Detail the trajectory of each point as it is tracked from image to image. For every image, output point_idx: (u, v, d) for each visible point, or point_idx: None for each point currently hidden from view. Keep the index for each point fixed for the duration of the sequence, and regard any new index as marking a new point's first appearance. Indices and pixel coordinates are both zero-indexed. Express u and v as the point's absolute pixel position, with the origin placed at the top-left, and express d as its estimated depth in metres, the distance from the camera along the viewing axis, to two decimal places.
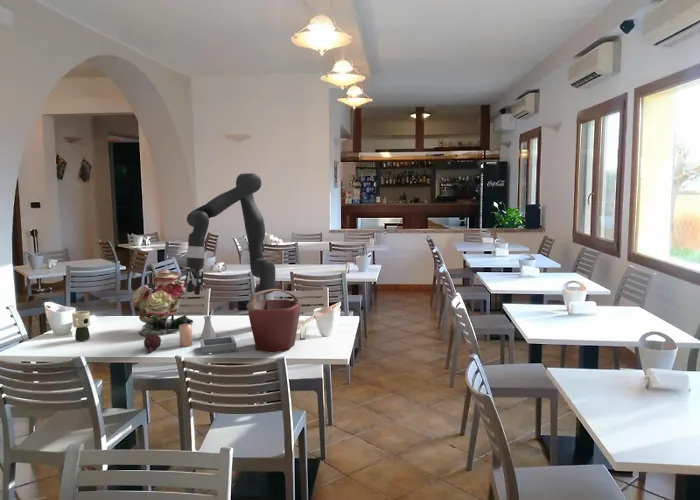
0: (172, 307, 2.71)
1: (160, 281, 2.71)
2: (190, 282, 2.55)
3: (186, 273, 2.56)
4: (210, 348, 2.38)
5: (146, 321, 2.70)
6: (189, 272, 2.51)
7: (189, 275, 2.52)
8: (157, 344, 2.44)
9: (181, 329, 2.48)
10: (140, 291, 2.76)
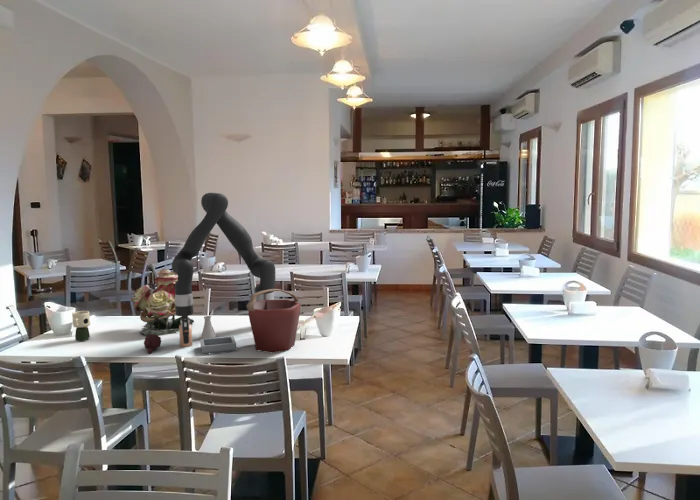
0: (173, 307, 2.71)
1: (161, 281, 2.72)
2: None
3: None
4: (210, 348, 2.38)
5: (147, 321, 2.70)
6: (180, 319, 2.50)
7: None
8: (157, 344, 2.44)
9: None
10: (141, 291, 2.76)
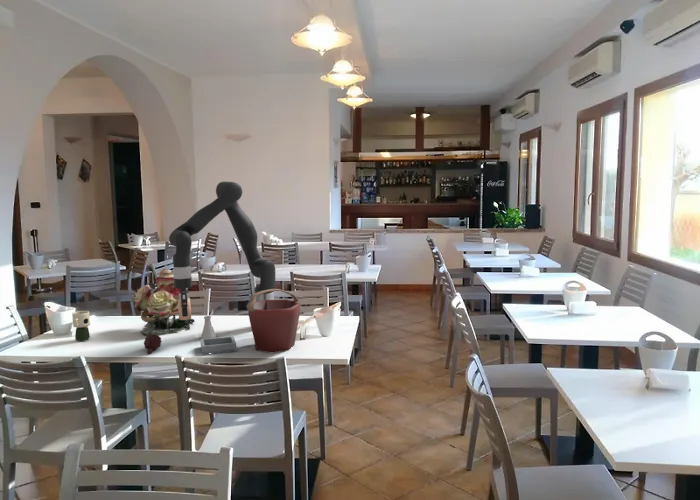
0: (174, 307, 2.72)
1: (162, 281, 2.72)
2: None
3: None
4: (210, 348, 2.38)
5: (148, 321, 2.71)
6: None
7: None
8: (157, 344, 2.43)
9: None
10: (142, 291, 2.77)
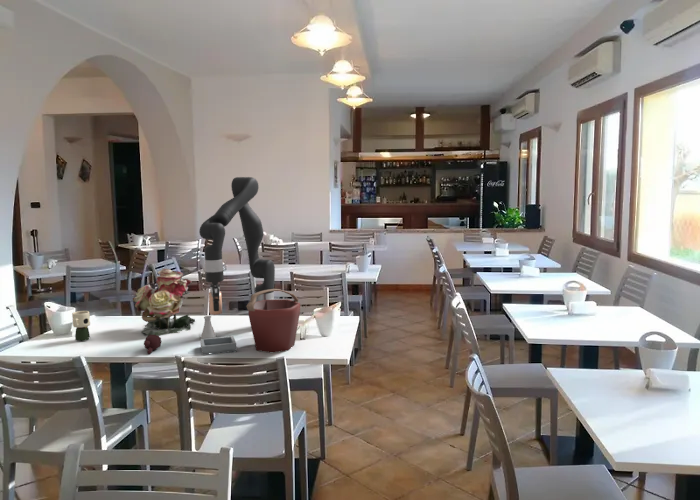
0: (175, 306, 2.72)
1: (163, 281, 2.72)
2: None
3: None
4: (210, 348, 2.38)
5: (149, 320, 2.71)
6: (210, 286, 2.42)
7: (211, 289, 2.42)
8: (157, 345, 2.43)
9: (211, 296, 2.40)
10: (142, 291, 2.77)
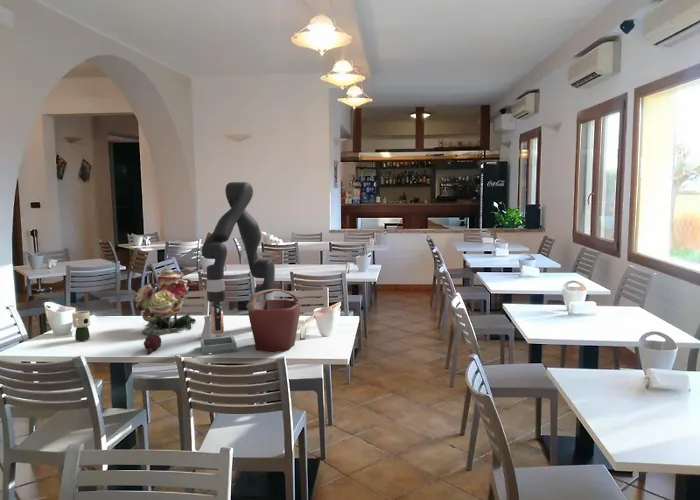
0: (175, 306, 2.73)
1: (163, 280, 2.73)
2: None
3: None
4: (210, 348, 2.38)
5: (149, 320, 2.71)
6: None
7: None
8: (157, 345, 2.43)
9: None
10: (143, 290, 2.77)
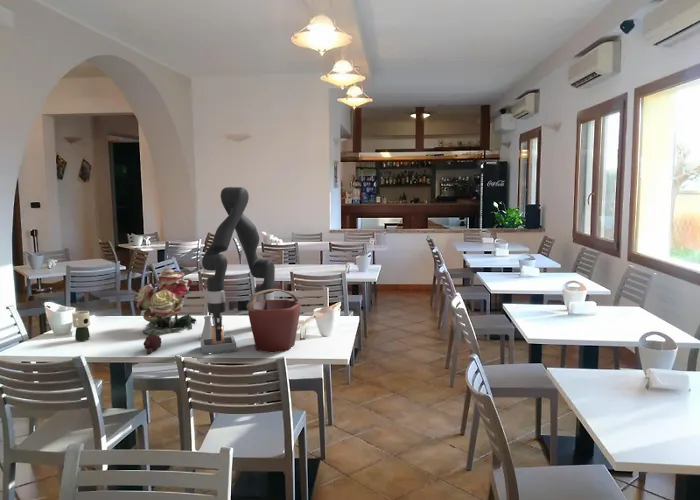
0: (176, 306, 2.73)
1: (164, 280, 2.73)
2: None
3: (213, 316, 2.49)
4: (210, 348, 2.38)
5: (150, 320, 2.72)
6: (212, 317, 2.43)
7: (213, 319, 2.44)
8: (157, 345, 2.43)
9: (213, 330, 2.41)
10: (144, 290, 2.78)
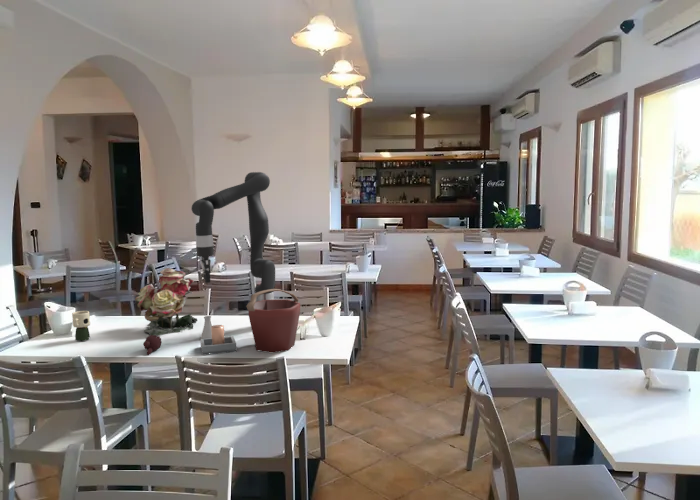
0: (177, 306, 2.74)
1: (165, 280, 2.74)
2: (205, 270, 2.60)
3: None
4: (210, 348, 2.38)
5: (151, 320, 2.72)
6: (201, 261, 2.56)
7: (201, 263, 2.57)
8: (157, 345, 2.42)
9: (213, 330, 2.41)
10: (145, 290, 2.78)
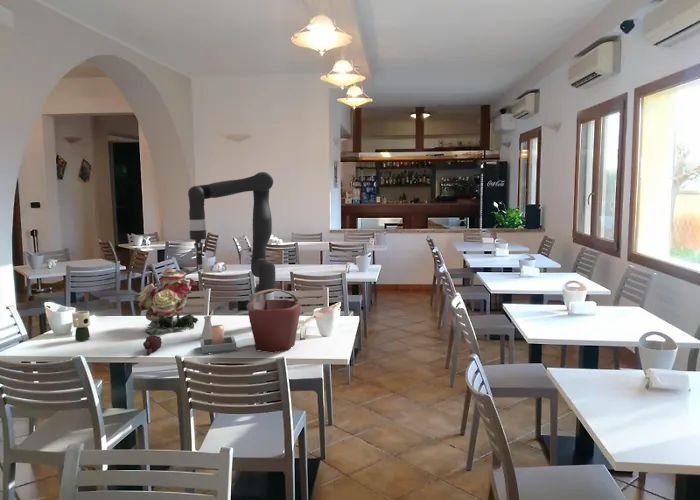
0: (178, 305, 2.74)
1: (166, 280, 2.74)
2: None
3: None
4: (210, 348, 2.38)
5: (152, 319, 2.73)
6: (194, 244, 2.68)
7: None
8: (157, 346, 2.42)
9: (213, 330, 2.41)
10: (146, 290, 2.79)
